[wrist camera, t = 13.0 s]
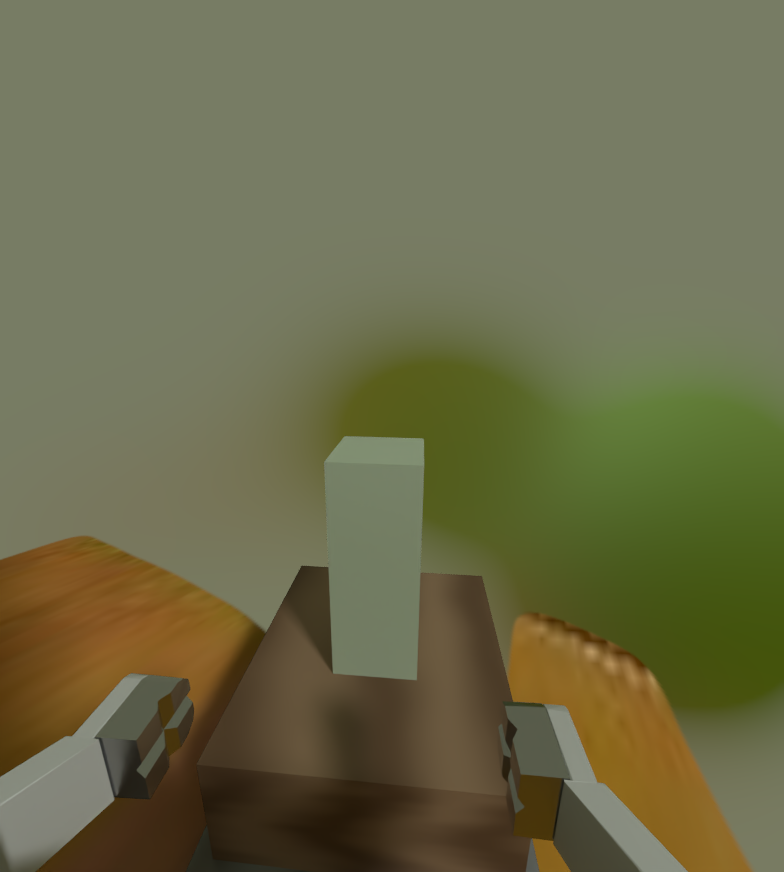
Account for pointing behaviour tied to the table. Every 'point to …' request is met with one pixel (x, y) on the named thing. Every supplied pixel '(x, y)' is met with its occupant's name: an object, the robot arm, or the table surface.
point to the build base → (364, 749)
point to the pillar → (375, 554)
